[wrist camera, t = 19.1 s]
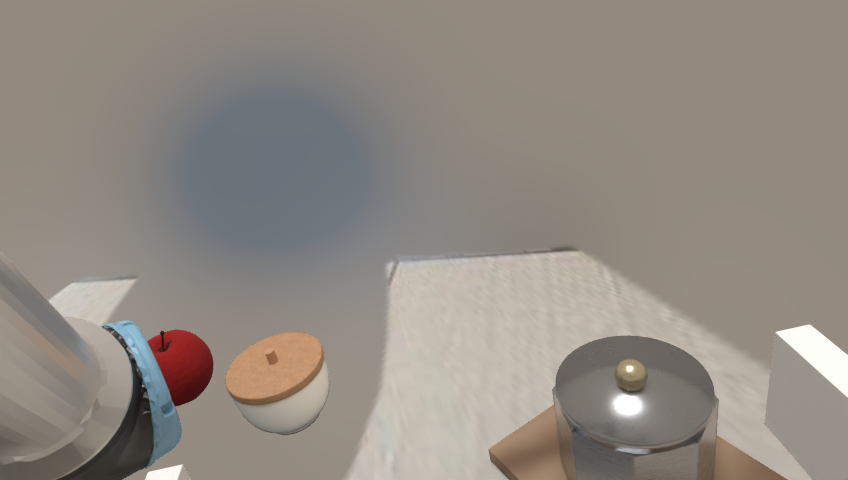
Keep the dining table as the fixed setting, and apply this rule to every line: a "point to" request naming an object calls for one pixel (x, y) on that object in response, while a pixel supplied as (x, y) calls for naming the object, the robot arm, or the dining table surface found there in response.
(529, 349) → the dining table surface
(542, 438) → the serving board
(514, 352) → the dining table surface
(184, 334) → the apple
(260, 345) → the lidded jar
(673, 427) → the silver lidded pot
